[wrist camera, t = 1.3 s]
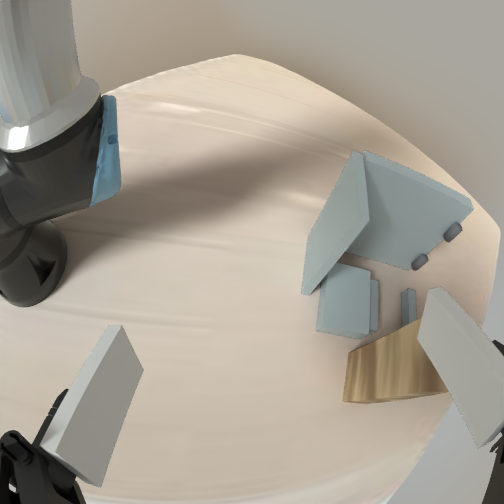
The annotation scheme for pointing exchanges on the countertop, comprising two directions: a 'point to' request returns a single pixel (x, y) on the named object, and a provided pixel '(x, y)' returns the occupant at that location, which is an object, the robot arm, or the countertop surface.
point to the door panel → (391, 369)
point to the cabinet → (375, 238)
